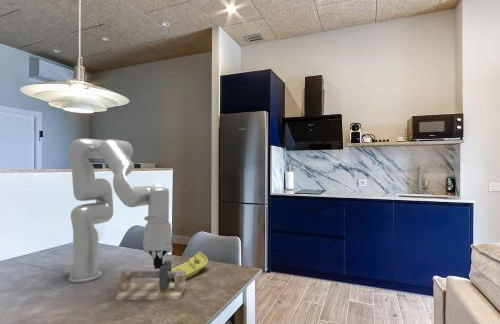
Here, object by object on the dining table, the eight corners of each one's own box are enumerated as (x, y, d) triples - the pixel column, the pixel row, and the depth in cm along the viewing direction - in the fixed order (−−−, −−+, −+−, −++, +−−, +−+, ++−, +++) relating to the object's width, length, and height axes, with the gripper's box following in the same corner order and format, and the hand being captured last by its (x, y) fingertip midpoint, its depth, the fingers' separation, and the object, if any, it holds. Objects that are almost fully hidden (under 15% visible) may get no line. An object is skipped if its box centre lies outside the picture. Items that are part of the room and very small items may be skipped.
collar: (159, 289, 107) (159, 267, 107) (164, 280, 115) (165, 260, 115) (165, 289, 107) (166, 267, 107) (171, 280, 115) (171, 260, 115)
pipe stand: (114, 299, 105) (114, 276, 105) (126, 287, 116) (126, 266, 116) (181, 299, 105) (181, 276, 106) (186, 286, 116) (186, 266, 117)
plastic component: (179, 278, 119) (165, 263, 124) (175, 292, 122) (160, 277, 126) (212, 261, 136) (197, 249, 141) (207, 274, 138) (193, 261, 143)
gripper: (135, 221, 107) (134, 271, 107) (176, 221, 107) (175, 271, 107) (142, 217, 114) (141, 264, 114) (180, 218, 115) (179, 264, 115)
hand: (158, 267), depth 111 cm, fingers closed
